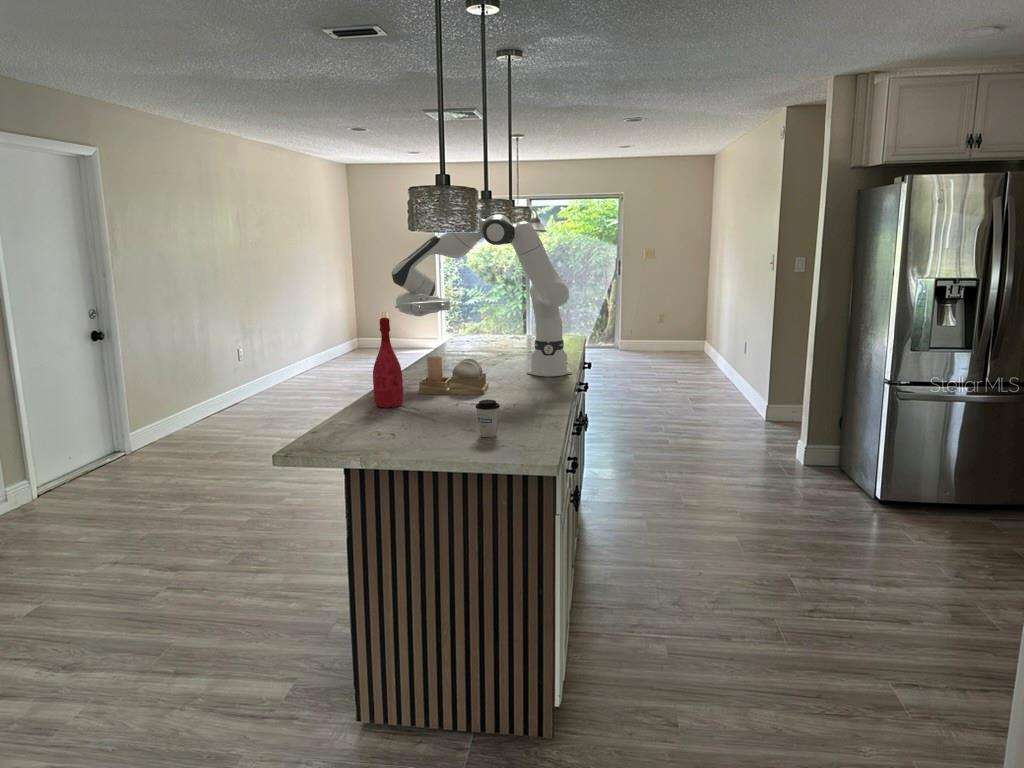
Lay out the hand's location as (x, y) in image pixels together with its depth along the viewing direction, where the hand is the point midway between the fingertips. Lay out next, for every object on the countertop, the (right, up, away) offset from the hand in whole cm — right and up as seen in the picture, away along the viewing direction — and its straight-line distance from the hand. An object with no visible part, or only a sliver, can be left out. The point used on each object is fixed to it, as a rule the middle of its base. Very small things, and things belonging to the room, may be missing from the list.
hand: (432, 307), depth 261 cm
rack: (+9, -32, -5) cm, 33 cm away
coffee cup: (+24, -44, -66) cm, 83 cm away
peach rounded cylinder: (+2, -30, -5) cm, 31 cm away
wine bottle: (-11, -37, -27) cm, 47 cm away
